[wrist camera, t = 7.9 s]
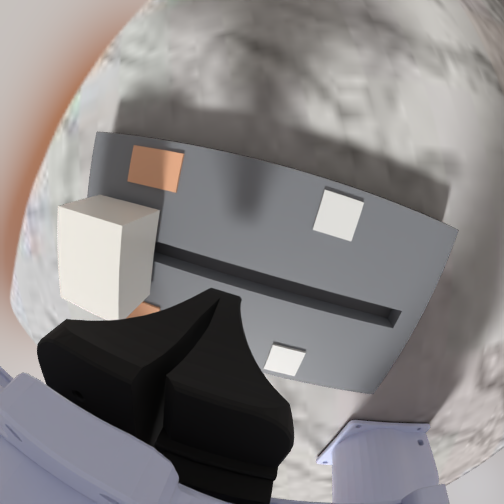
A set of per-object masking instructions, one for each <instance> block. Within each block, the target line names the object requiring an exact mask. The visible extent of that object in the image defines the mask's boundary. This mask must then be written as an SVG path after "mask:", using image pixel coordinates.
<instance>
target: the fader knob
mask: <svg viewBox="0 0 504 504" xmlns="http://www.w3.org/2000/svg"><path fill="white" fill-rule="evenodd" d="M159 213H160V210H157V209H154V208H150V207H146V206H142V205H138V204H135V203H131V202H127V201H123V200H119V199H115V198H111V197H108V196H104V195H97V196H93V197H89V198H85V199H81V200H78V201H74V202H70V203H67V204H63V205H59V206H58V222H57V245H58V270H59V284H60V294H61V298H63V299H65V300H67V301H69V302H71V303H72V304H74V305H76V306H78V307H80V308H82V309H84V310H86V311H88V312H90V313H92V314H94V315H97V316H99V317H101V318H103V319H105V320H119V319H126V318H127V317H128V316H129V315H130V314H131V313H132V312H133V311H134V310H135V309H136V308H137V307H138V306H139V305H140V304H141V303H142V302H143V301H144V300H145V299H146V298H147V297H148V296H149V295H150V287H151V276H152V266H153V257H154V249H155V241H156V233H157V226H158V219H159Z"/></svg>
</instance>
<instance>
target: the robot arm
mask: <svg viewBox="0 0 504 504" xmlns="http://www.w3.org/2000/svg"><path fill="white" fill-rule="evenodd" d="M241 301H242V299H241V297H240V296H237V295H234V294H231V293H227V292H224V291H221V290H218V289H214V288H209V289H207V290H205V291H203V292H201V293H200V294H198V295H196V296H194V297H192V298H190V299H188V300H186V301H184V302H182V303H179V304H177V305H174V306H172V307H169V308H167V309H164V310H161V311H158V312H155V313H151V314H147V315H143V316H138V317H132V318H126V319H119V320H106V321H85V320H70V319H66V320H65V321H63V322H62V323H61V324H60V325H58V326H57V327H56V328H55V329H53V330H52V331H51V332H50V333H48V334H47V335H46V336H45V337H43V338H42V339H41V340H40V342H39V343H38V346H37V355H38V360H39V364H40V366H41V370H42V373H43V376H44V378H45V382H46V384H47V385H46V384H44V383H43V382H41V381H40V380H39V379H37V378H35V377H33V376H31V375H29V374H27V373H21V374H19V375H17V376H16V377H15V378H14V379H13V378H12V377H11V376H10V375H9V374H8V373H7V372H6V371H5V370H4V369H2V368H1V367H0V504H449V499H448V495H447V491H446V487H445V484H440V485H438V482H439V476H438V471H437V467H436V464H435V460H434V457H433V454H432V450H431V447H430V444H429V441H428V438H427V435H426V432H427V431H428V430H429V429H430V424H415V423H388V422H374V421H362V420H351V421H350V422H348V424H347V425H346V426H345V427H344V428H343V430H342V431H341V432H340V433H339V434H338V436H337V437H336V438H335V439H334V440H333V441H332V442H331V444H330V445H329V446H328V447H327V448H326V449H325V450H324V451H323V452H322V453H321V455H320V456H319V457H318V458H317V459H316V463H318V464H326V465H332V495H333V503H322V502H305V501H294V500H285V499H277V498H271V493H272V487H273V481H274V480H275V479H276V477H277V470H278V466H279V465H280V464H281V462H282V461H283V460H284V459H285V457H286V456H287V455H288V454H289V452H290V451H291V449H292V447H293V444H294V427H293V419H292V413H291V408H290V404H289V403H288V402H287V401H286V400H285V399H284V398H283V397H282V396H281V395H280V394H279V393H278V392H277V390H276V389H275V388H274V387H273V386H272V385H271V384H270V382H269V381H268V380H267V379H266V377H265V376H264V374H263V372H262V371H261V369H260V368H259V366H258V364H257V363H256V361H255V359H254V357H253V355H252V352H251V350H250V348H249V345H248V342H247V339H246V336H245V332H244V329H243V324H242V318H241Z"/></svg>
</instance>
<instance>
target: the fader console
mask: <svg viewBox="0 0 504 504" xmlns="http://www.w3.org/2000/svg"><path fill="white" fill-rule="evenodd" d="M97 195H104V196H108V197H111V198H115V199H119V200H123V201H127V202H131V203H135V204H138V205H142V206H146V207H150V208H154V209H157V210H160V213H159V219H158V226H157V233H156V241H155V249H154V257H153V266H152V276H151V287H150V295H149V296H148V297H147V298H146V299H145V300H144V301H143V302H142V303H141V304H140V305H139V306H138V307H137V308H136V309H135V310H134V311H133V312H132V313H131V314H130V315H129V316H128V317H127V318H132V317H138V316H143V315H147V314H151V313H155V312H158V311H161V310H164V309H167V308H169V307H172V306H174V305H177V304H179V303H182V302H184V301H186V300H188V299H190V298H192V297H194V296H196V295H198V294H200V293H201V292H203V291H205V290H207V289H209V288H214V289H218V290H221V291H224V292H227V293H231V294H234V295H237V296H240V297H241V299H242V301H241V318H242V324H243V329H244V332H245V336H246V339H247V342H248V345H249V348H250V350H251V352H252V355H253V357H254V359H255V361H256V363H257V364H258V366H259V368H260V369H261V371H262V372H263V373H266V374H270V375H274V376H278V377H282V378H286V379H290V380H295V381H299V382H304V383H309V384H314V385H319V386H324V387H329V388H335V389H341V390H347V391H353V392H360V393H367V394H374V392H375V391H376V390H377V388H378V387H379V385H380V384H381V383H382V381H383V380H384V378H385V377H386V375H387V374H388V372H389V371H390V369H391V368H392V366H393V365H394V363H395V361H396V360H397V358H398V357H399V355H400V353H401V352H402V350H403V348H404V347H405V345H406V343H407V342H408V340H409V338H410V336H411V335H412V333H413V331H414V329H415V327H416V326H417V324H418V322H419V320H420V318H421V316H422V314H423V312H424V310H425V309H426V307H427V305H428V303H429V300H430V298H431V296H432V294H433V292H434V290H435V288H436V286H437V283H438V281H439V279H440V277H441V274H442V272H443V270H444V267H445V265H446V262H447V260H448V258H449V255H450V252H451V250H452V247H453V244H454V242H455V239H456V236H457V233H458V230H457V229H455V228H453V227H451V226H449V225H447V224H445V223H443V222H441V221H439V220H437V219H434V218H432V217H430V216H427V215H425V214H423V213H420V212H418V211H415V210H413V209H411V208H408V207H406V206H403V205H401V204H398V203H395V202H393V201H390V200H388V199H385V198H382V197H380V196H377V195H374V194H371V193H369V192H366V191H363V190H360V189H357V188H354V187H351V186H349V185H346V184H343V183H339V182H336V181H333V180H330V179H327V178H324V177H321V176H317V175H314V174H311V173H307V172H304V171H301V170H297V169H294V168H290V167H286V166H283V165H279V164H275V163H272V162H268V161H264V160H260V159H256V158H252V157H248V156H243V155H239V154H235V153H230V152H226V151H221V150H217V149H212V148H207V147H202V146H197V145H191V144H186V143H181V142H175V141H169V140H163V139H156V138H150V137H143V136H136V135H128V134H120V133H109V132H97V133H96V138H95V143H94V149H93V155H92V162H91V169H90V177H89V186H88V195H87V198H89V197H93V196H97Z"/></svg>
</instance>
